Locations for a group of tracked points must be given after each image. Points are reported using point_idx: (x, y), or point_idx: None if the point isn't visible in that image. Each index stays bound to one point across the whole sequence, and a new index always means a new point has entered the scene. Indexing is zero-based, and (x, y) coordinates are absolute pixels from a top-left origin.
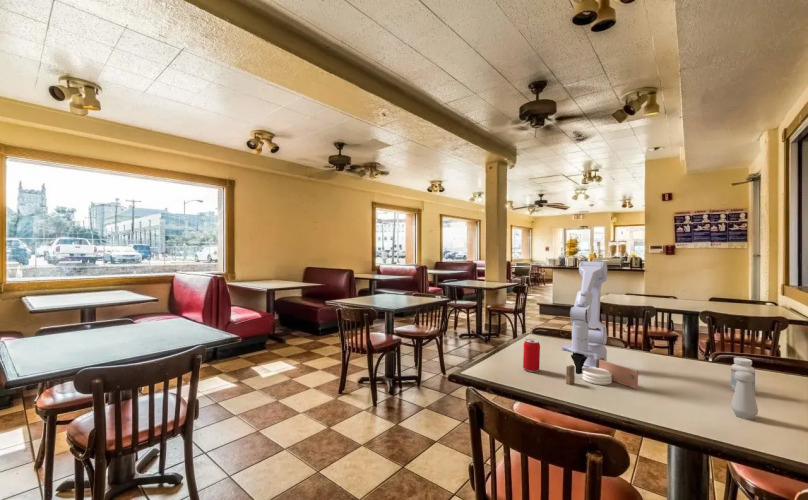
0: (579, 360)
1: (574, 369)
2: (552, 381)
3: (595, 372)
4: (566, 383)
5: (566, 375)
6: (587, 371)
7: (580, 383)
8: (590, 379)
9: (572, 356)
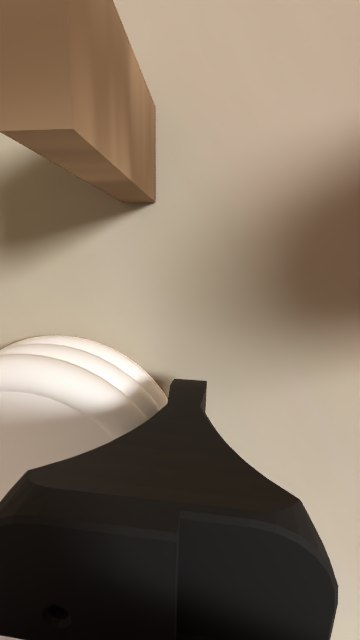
0: (66, 461)
1: (42, 153)
2: (287, 16)
3: (8, 459)
4: (154, 106)
5: (129, 45)
6: (68, 421)
7: (94, 254)
8: (35, 345)
9: (242, 506)
